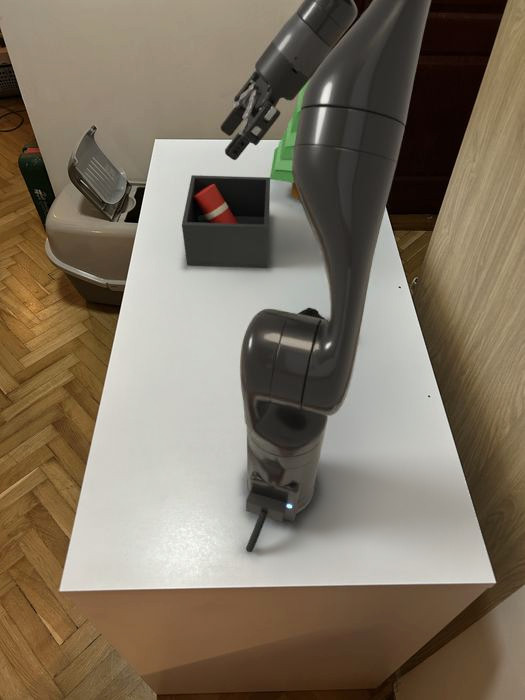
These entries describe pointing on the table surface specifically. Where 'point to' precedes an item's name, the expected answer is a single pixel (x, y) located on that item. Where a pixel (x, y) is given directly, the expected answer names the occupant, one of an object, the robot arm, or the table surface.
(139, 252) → the table surface
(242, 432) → the table surface
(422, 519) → the table surface
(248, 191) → the bin
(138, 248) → the table surface
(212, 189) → the red cylinder
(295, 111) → the decorative tree
